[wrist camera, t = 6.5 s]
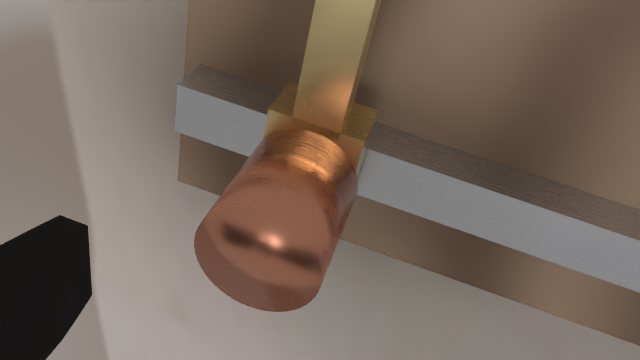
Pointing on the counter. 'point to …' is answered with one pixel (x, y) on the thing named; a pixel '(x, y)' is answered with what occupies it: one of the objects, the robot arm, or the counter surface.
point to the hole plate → (465, 120)
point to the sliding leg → (297, 173)
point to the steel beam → (440, 183)
